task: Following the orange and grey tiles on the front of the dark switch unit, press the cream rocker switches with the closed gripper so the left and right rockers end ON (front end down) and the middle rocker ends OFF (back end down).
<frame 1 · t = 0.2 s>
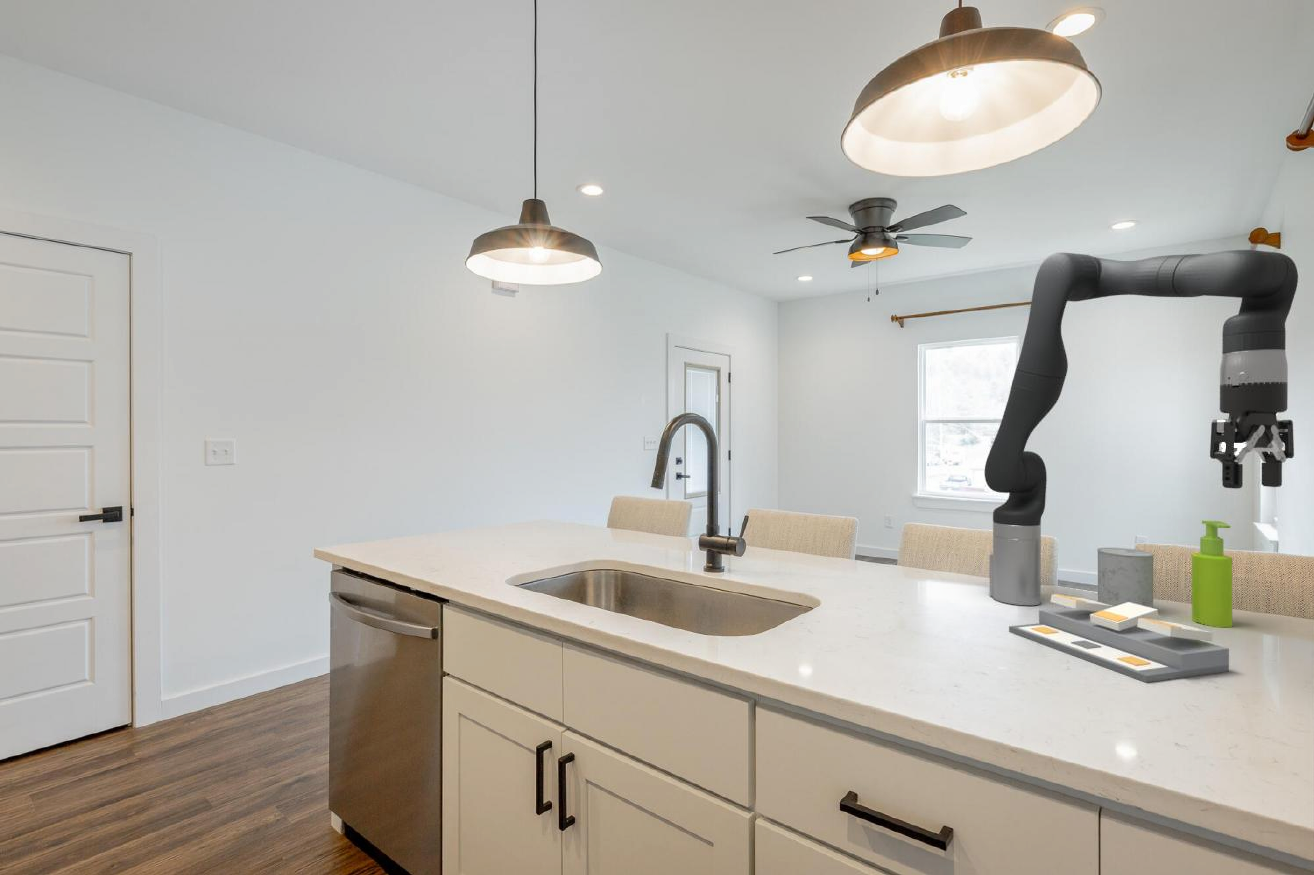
hand: (1252, 487, 95), 29 cm above the worktop, tool pointing down, fingers open, 8 cm apart
rocker right: (1174, 629, 99), point 6 cm above the worktop, hinge at -10.0°
switch unit: (1108, 649, 106), on the worktop
grey concrete cylinder: (1125, 610, 131), on the worktop
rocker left: (1082, 603, 115), point 6 cm above the worktop, hinge at -10.0°
soap dispenser: (1213, 624, 121), on the worktop
rocker middle: (1123, 615, 107), point 6 cm above the worktop, hinge at 10.0°
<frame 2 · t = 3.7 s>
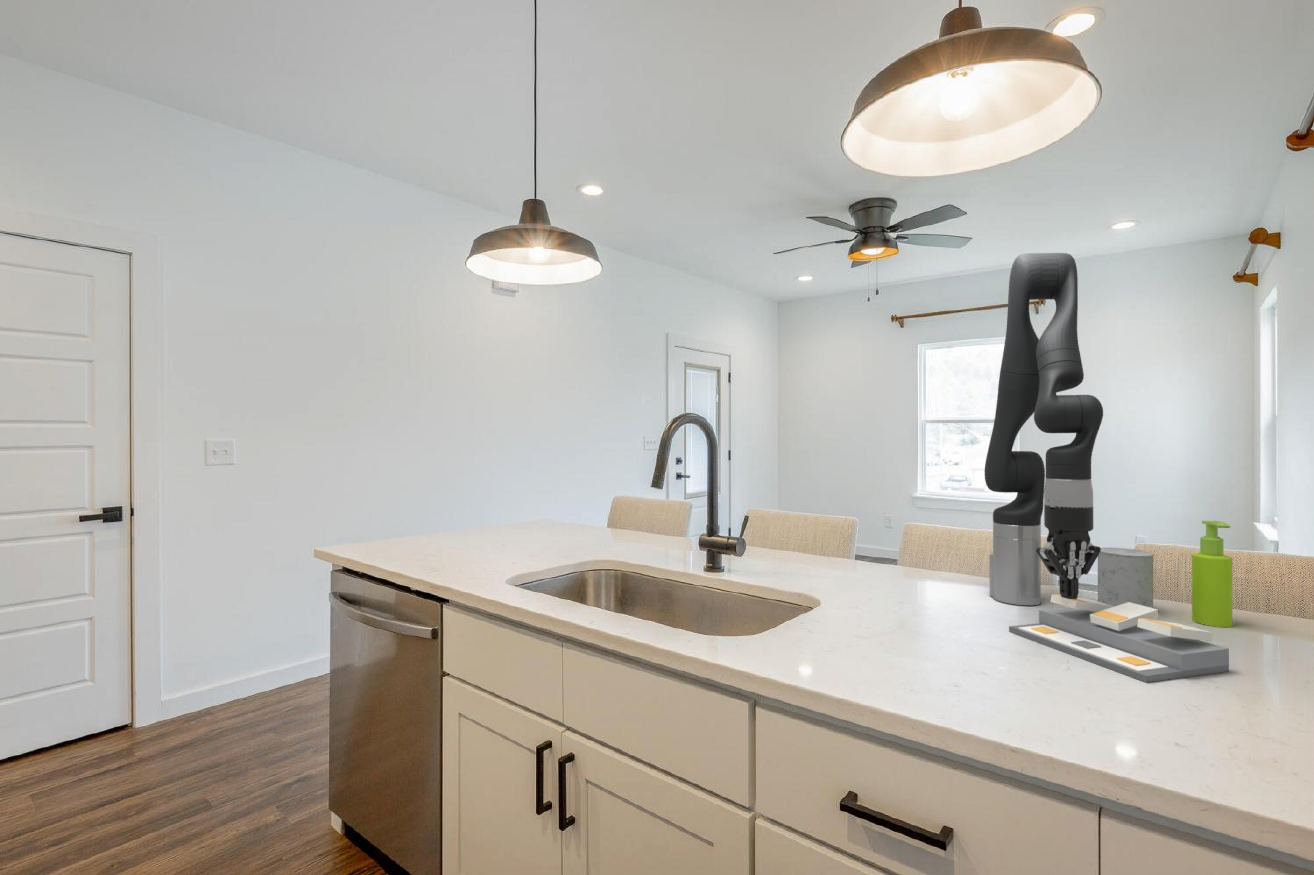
hand: (1068, 598, 114), 7 cm above the worktop, tool pointing down, fingers closed
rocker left: (1082, 603, 115), point 6 cm above the worktop, hinge at -9.9°, touching gripper
everything else where it was.
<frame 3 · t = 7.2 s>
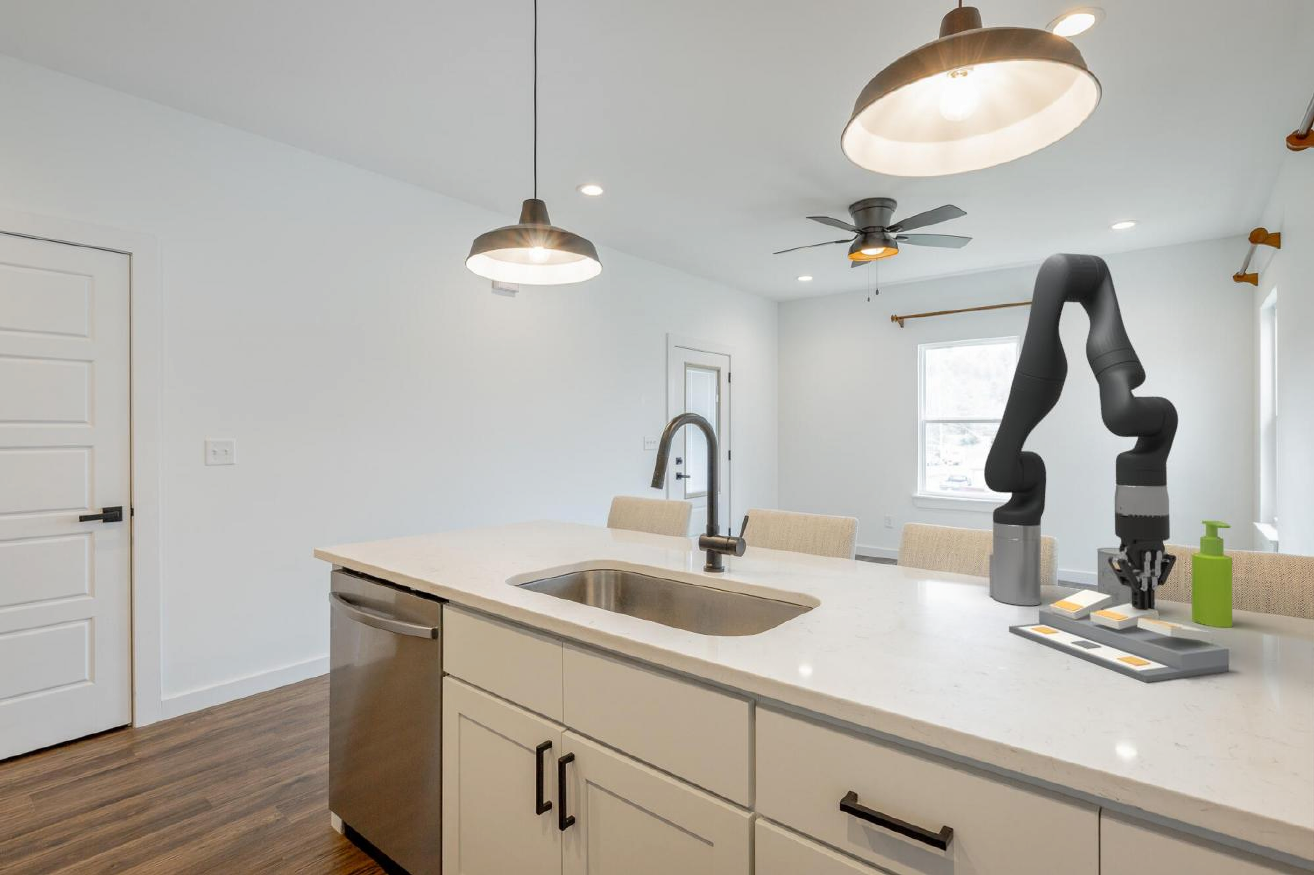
hand: (1143, 610, 108), 6 cm above the worktop, tool pointing down, fingers closed
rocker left: (1080, 603, 115), point 6 cm above the worktop, hinge at 15.4°
rocker middle: (1124, 615, 107), point 6 cm above the worktop, hinge at 6.9°, touching gripper
everything else where it was.
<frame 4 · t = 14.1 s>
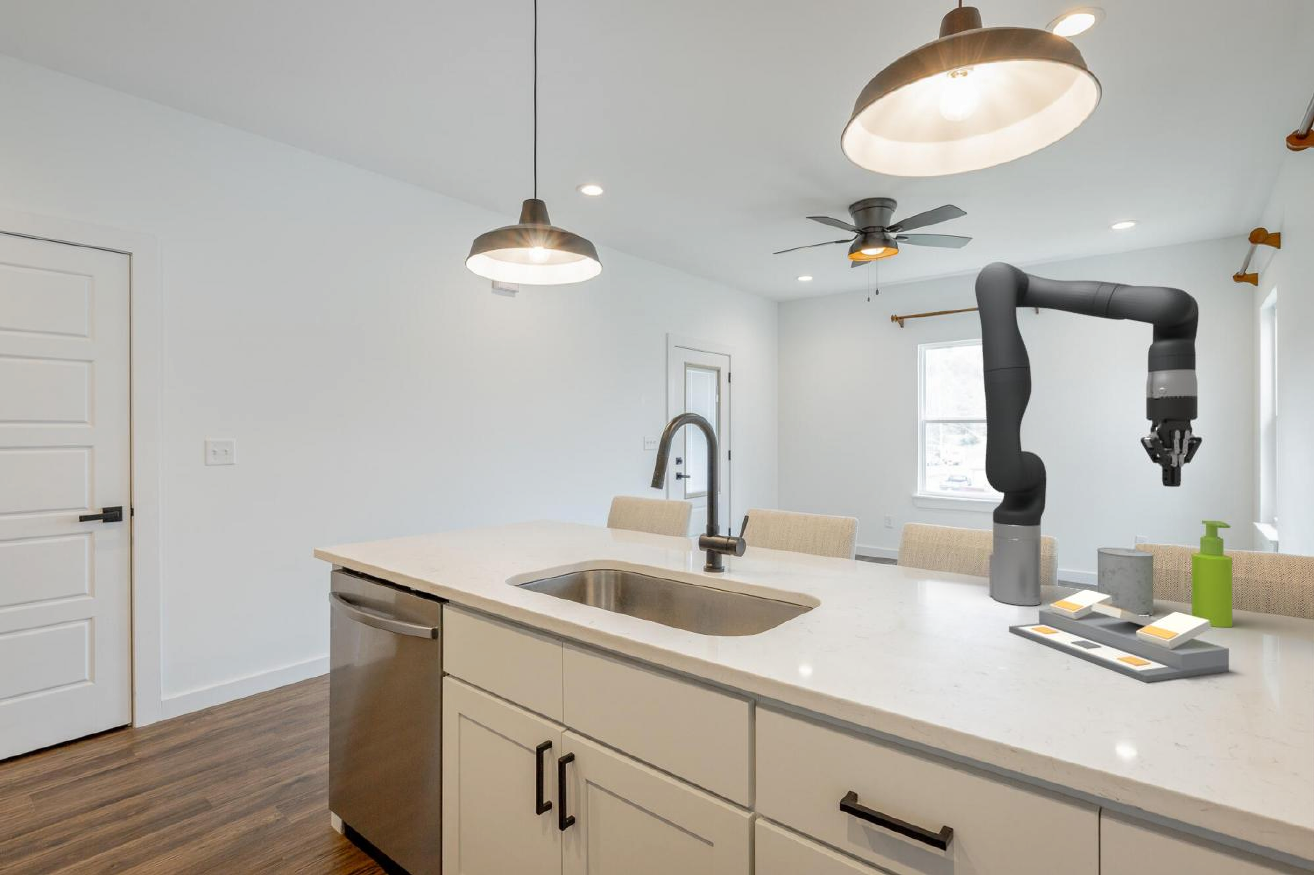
hand: (1171, 486, 118), 27 cm above the worktop, tool pointing down, fingers closed
rocker right: (1172, 629, 99), point 6 cm above the worktop, hinge at 16.3°
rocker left: (1080, 603, 115), point 6 cm above the worktop, hinge at 14.9°
rocker middle: (1125, 615, 107), point 6 cm above the worktop, hinge at -17.0°, touching switch unit
everything else where it was.
at the end: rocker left at +15° (first picture: -10°); rocker middle at -17° (first picture: +10°); rocker right at +16° (first picture: -10°) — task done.
